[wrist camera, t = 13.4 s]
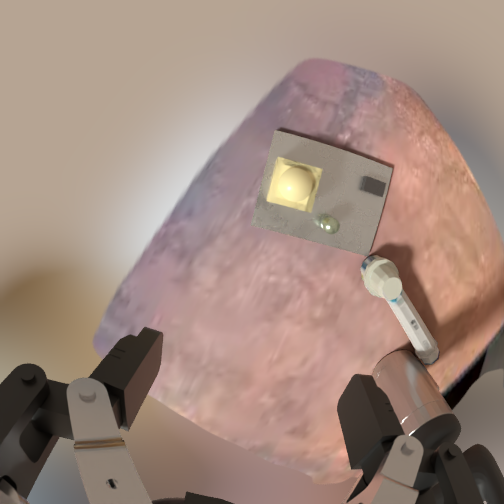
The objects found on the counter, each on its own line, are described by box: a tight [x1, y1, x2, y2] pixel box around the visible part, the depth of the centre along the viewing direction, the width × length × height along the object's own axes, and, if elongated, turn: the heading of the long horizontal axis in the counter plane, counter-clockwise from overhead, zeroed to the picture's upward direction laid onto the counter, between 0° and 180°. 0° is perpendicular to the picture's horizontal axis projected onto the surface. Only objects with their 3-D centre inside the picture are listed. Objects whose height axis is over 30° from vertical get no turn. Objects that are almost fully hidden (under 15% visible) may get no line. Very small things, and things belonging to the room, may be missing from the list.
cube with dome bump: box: [267, 157, 323, 213], centre depth 31 cm, size 5×5×7 cm
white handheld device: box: [360, 255, 440, 365], centre depth 37 cm, size 5×7×25 cm
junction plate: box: [251, 130, 393, 256], centre depth 32 cm, size 17×13×6 cm
